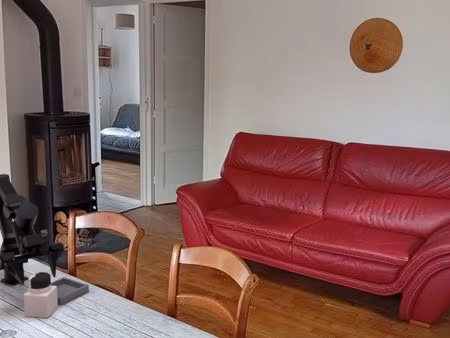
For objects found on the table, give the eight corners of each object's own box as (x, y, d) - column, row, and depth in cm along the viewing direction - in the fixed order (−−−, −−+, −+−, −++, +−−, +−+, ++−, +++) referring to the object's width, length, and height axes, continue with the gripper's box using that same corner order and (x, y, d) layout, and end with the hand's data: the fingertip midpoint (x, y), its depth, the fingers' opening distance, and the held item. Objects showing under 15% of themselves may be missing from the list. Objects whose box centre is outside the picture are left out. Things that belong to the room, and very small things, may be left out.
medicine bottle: (58, 307, 153) (56, 270, 150) (47, 318, 146) (45, 280, 144) (36, 305, 154) (33, 269, 151) (24, 317, 147) (22, 278, 144)
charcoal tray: (35, 296, 159) (35, 289, 159) (64, 283, 169) (63, 276, 169) (60, 305, 154) (60, 298, 153) (88, 292, 163) (88, 284, 163)
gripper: (-4, 227, 143) (10, 276, 137) (60, 216, 155) (76, 261, 148) (-9, 246, 151) (4, 293, 145) (53, 234, 162) (67, 277, 156)
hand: (39, 280), depth 148 cm, fingers open, 9 cm apart
